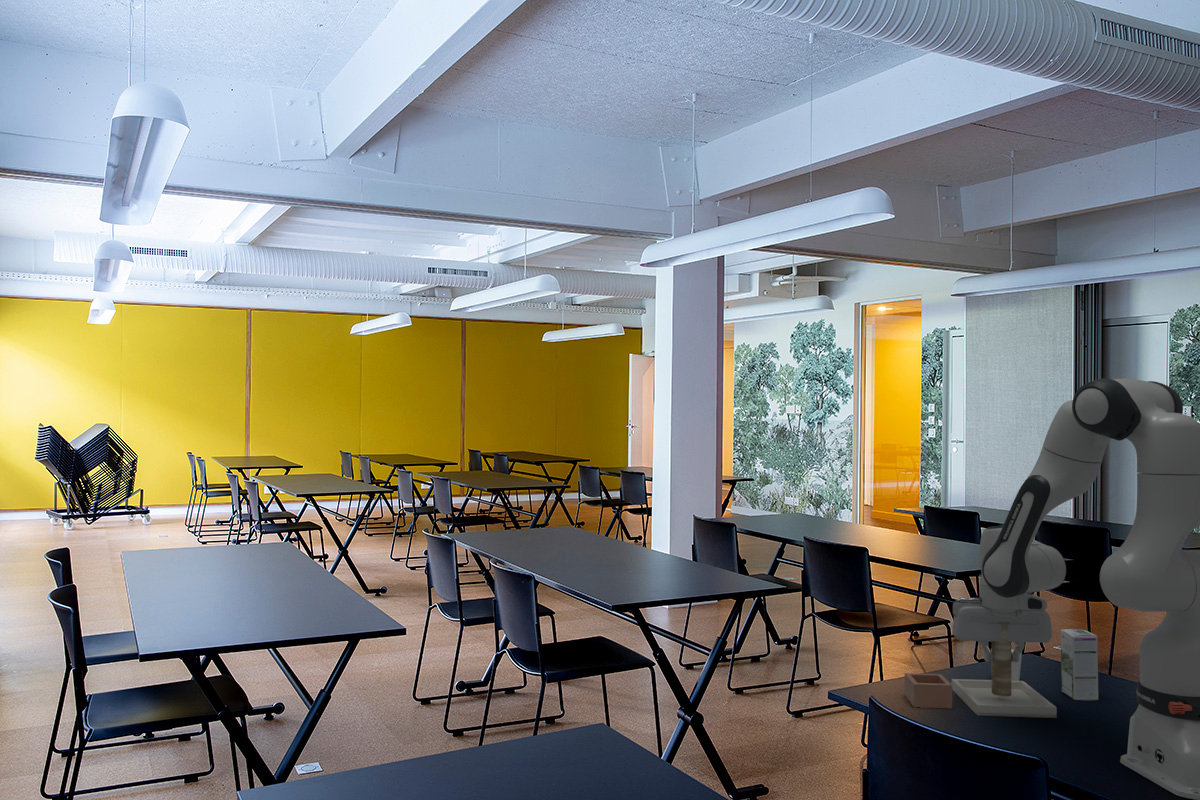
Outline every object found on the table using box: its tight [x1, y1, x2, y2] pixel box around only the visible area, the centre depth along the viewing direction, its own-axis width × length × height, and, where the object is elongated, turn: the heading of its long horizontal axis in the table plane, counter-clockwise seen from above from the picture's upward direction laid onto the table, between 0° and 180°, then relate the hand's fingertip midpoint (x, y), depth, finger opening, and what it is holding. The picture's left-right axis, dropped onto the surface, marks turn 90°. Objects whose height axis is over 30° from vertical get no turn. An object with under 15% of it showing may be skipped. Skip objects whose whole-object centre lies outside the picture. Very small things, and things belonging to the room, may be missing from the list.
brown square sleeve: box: [904, 672, 953, 710], centre depth 197 cm, size 8×8×5 cm
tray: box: [951, 678, 1058, 719], centre depth 196 cm, size 18×16×2 cm
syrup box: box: [1060, 628, 1099, 701], centre depth 201 cm, size 6×6×14 cm
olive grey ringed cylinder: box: [990, 622, 1012, 697], centre depth 196 cm, size 4×4×16 cm
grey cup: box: [1011, 647, 1023, 681], centre depth 213 cm, size 7×7×7 cm
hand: (1001, 661), depth 196 cm, fingers closed on olive grey ringed cylinder, 4 cm apart
